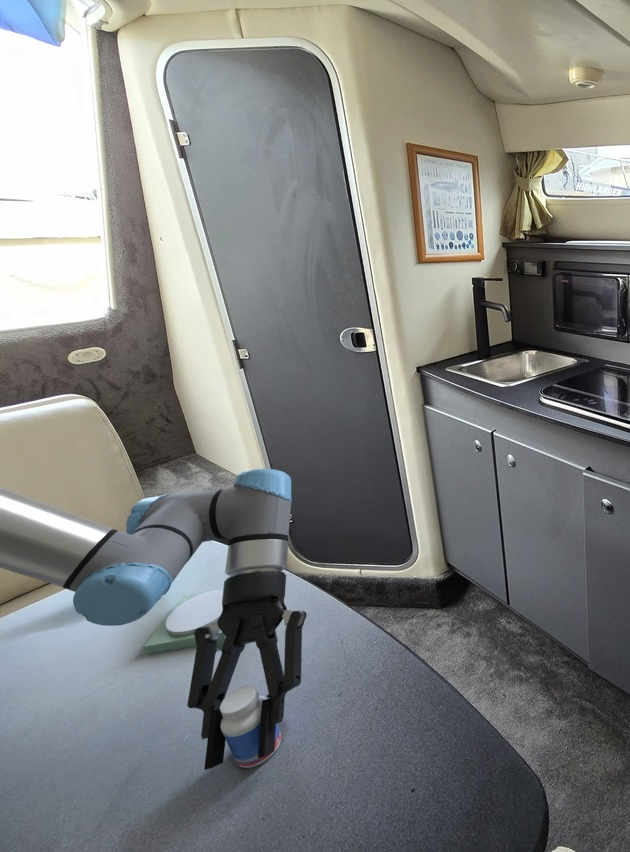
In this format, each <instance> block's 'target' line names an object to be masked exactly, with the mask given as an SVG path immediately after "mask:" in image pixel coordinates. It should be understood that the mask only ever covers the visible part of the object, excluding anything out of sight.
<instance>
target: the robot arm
mask: <svg viewBox="0 0 630 852" xmlns="http://www.w3.org/2000/svg"><path fill="white" fill-rule="evenodd" d="M292 503H293V499H292V478H291V476H290V475H289V474H287V473H286V472H284V471H281V470H279V469H272V468H271V469H270V468H256V469H254V468H253V469H249V470H247V471H242V472H240V473H238V474H237V476H236V477H235V480H234V482H233V486H232V487H226V488H221V489H212V490H201V491H199V490H198V491H190V492H189V491H187V492H179V493H178V492H175V493H173V492H171V493H166V494H162V495H158V496H151V497H145V498H142V499H141V500H139V501H137V502H136V503H135V504H134V505H133V506H132V507H131V509H130V515H127V518H126V519H127V520H126V525H125V527H126V528H125V529H126V532H125V531H122V530H118V529H115V528H113V527H111V526H110V527H109V526H107V525H104V524H101V523H99V522H96V521H93V520H91V519H88V518H85V517H83V516H80V515H77V514H75V513H72V512H70V511H67V510H64V509H61V508H59V507H56V506H53V505H51V504H47V503H45V502H43V501H40V500H38V499H35V498H32V497H29V496H26V495H24V494H21V493H19V492H16V491H14V490H11V489H8V488H5V487H3V486H0V569H3V570H5V571H9V572H12V573H15V574H18V575H22V576H25V577H28V578H31V579H35V580H38V581H41V582H44V583H48V584H51V585H54V586H58V587H60V588H63V589H65V590H69V591H70V592H74V595H73V596H72V597H73V598H72V604H73V607H74V611H75V612H76V613H77V614H78V615H82V616H83V617H84V618H85V621H87V622H89V623H90V624H91V623H92V624H95V625H98V626H107V627H108V626H109V627H117V626H123V625H128V624H130V623H133V622H136V621H137V620H140V619H142V618H143V617H144V616H146V615H147V614H148V613H149V612H150V611H151V610H152V609H153V608H154V607H155V605H156V604H157V603H158V602H159V601H160V599H161V598H163V596H165V595H166V594H167V593H168V592H169V590H170V588H171V586H172V584H173V582H174V581H175V579H177V577H178V575H179V574H180V572H181V571H182V570H183V568H184V567H185V565H186V564H187V563H188V562H189V561H190V560H191V559H192V557H193V556H194V554H195V553H196V552H197V551H198V549H199V548H200V546H201V545H202V544H203V543H204V542H205V543H206V542H213V541H220V540H227V539H228V544H227V555H226V563H225V571H224V573H225V574H226V576H228V577H227V578H226V579H225V580H224V581H223V588H222V589H223V598H222V607H223V610H222V613H221V615H220V617H219V618H218V621H217V622H215V623H213V624H211V625H209V626H207V627H200V628H197V629H196V630H195V632H194V636H195V640H196V645H197V646H196V649H195V654H194V655H195V656H194V661H193V667H192V674H191V679H190V680H191V681H190V687H189V692H188V699H187V708H189V709H198V710H201V711H202V712H203V715H202V724H201V731H200V732H201V734H200V736H201V739H202V740H206V741H207V742H206V751H205V760H204V771H206V770H210V769H213V768H215V767H217V766H219V765H222V764H223V763H224V760H225V759H224V757H225V750H226V739H225V737H224V735H223V733H222V731H221V728H220V724H221V720H222V718H223V716H222V713H221V711H220V705H221V703H222V701H223V700H224V699H225V697H226V696H227V693H228V690H229V687H230V684H231V683H232V682H231V681H232V679H233V676H234V673H235V670H236V667H237V664H238V661H239V659H240V656H241V654H242V652H243V651H244V650H245V647H246V645H249V644H251V643H255V645H256V647H257V649H258V650H259V654H260V660H261V664H262V669H263V675H264V677H265V683H266V687H267V692H268V694H266V695H265V696H266V699H265V700H262V708H261V721H260V735H259V748H258V758H261V757H265V756H267V755H269V754H271V753H273V752H274V749H275V733H276V724H277V725H278V724H280V723H282V722H283V719H284V716H285V700H286V695H287V694H288V692H290V691H291V690H293V689H295V688H297V687H299V686H300V685H301V683H302V655H303V653H302V652H303V651H302V650H303V649H302V648H303V647H302V646H303V627H304V624H305V621H306V619H307V615H308V614H307V612H306V611H305V610H290V609H288V607H287V605H286V604H285V597H286V586H287V574H286V573H285V571H284V570H286V568H287V567H288V552H289V551H288V550H289V535H290V534H289V533H290V523H291V522H290V521H291V510H292ZM283 571H284V572H283ZM282 621H283V625H284V627H285V630H284V631H285V633H284V660H283V661H284V663H283V665H282V661H281V656H280V652H279V647H278V642H279V641H278V636H277V631H276V630H277V628H278V627H279V625H281V623H282ZM220 630H221V631H222V632H223V634H224V635H225V637H226V638H225V641H224V644H223V646H222V647H221V650H220V651H221V655H220V658H219V660H218V663H217V666H216V668H215V671H214V667H215V661H216V660H215V659H216V655H217V654H216V653H217V648H216V647H217V640H216V639H217V638H218V637H219V631H220Z"/></svg>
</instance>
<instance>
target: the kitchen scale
mask: <svg viewBox="0 0 630 852" xmlns="http://www.w3.org/2000/svg"><path fill="white" fill-rule="evenodd" d="M223 589H224V588H221V589H214V590H209V591H208V590H207V591H202V592H195V593H191V594H184V595H183V596H181V598H180V599H179V601H177V603H176V605H174V607H173V608H172V610H170V612H169V613H168V614H167V616H166V617H165V618H164V620H162V622H161V624H160V625H159V626H158V627H157V629H156V630H155V631H154V633H152V635H151V636H150V637H149V639H148V640H147V641H146V642H145V644H144V645H143V649H144V651H145V653H146V655H153V654H159V653H163V652H169V651H175V650H180V649H187V648H191V647H197V645H196V640H195V636H194V632H195V630H196V629H197V628H200V627H207V626H209V625H211V624H213V623H215V622H217V621H218V618H219V617H220V615H221V613H222V610H223V607H222V598H223ZM225 638H226V637H225V635H224V634H223V632H222V631H221V630H220V631H219V637H218V638H217V639H216V640H217V647H216V649H217V648H222V646H223V644H224V641H225Z"/></svg>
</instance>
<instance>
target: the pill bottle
mask: <svg viewBox="0 0 630 852" xmlns="http://www.w3.org/2000/svg"><path fill="white" fill-rule="evenodd" d="M265 699H267V697H265V696H264V695H260V694H259V693H258V691H257V689H256V688H255V687H254V686H252V685H244V686H241V687H239V688H238V687H237V688H236V689H234V690H232V691H230V693H228V694H226V696H225V698H224V700H223V701H222V703H221V705H220V711H221V713H222V716H223V718H222V720H221V724H220V728H221V731H222V733H223V735H224V737H225V739H226V740H225V742H226V743H227V745H228V747H229V750H230V752H231V754H232V756H233V759H234V760H235V762H236V764H237V765H238V766H239V767H240V768H243V769H251V768H254V767H258V766H259V765H262V764H263V763H264V762H266V761H267V760H269V759H270V758H271V757H272V756H273V755H274V754H275V753H276V752H277V750H278V748H279V747H280V745H281V741H282V732H281V730H280V727H279V724H278V723H277V724H276V733H275V749H274V752H273V753H271V754H269V755H267V756H265V757H261V758H258V748H259V735H260V721H261V708H262V700H265Z"/></svg>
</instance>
